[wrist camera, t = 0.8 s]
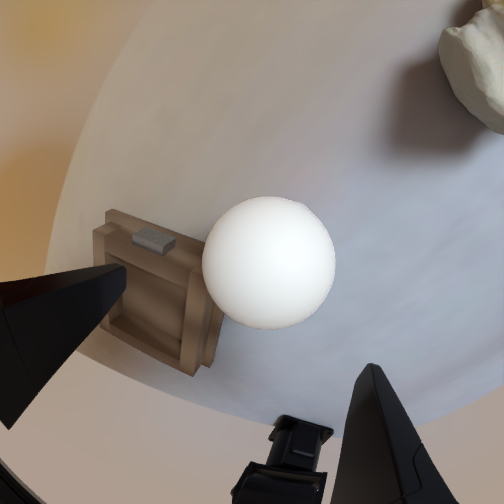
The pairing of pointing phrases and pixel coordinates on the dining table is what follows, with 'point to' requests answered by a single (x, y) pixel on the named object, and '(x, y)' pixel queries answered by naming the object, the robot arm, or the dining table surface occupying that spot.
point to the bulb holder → (159, 292)
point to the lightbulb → (268, 263)
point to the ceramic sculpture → (478, 63)
